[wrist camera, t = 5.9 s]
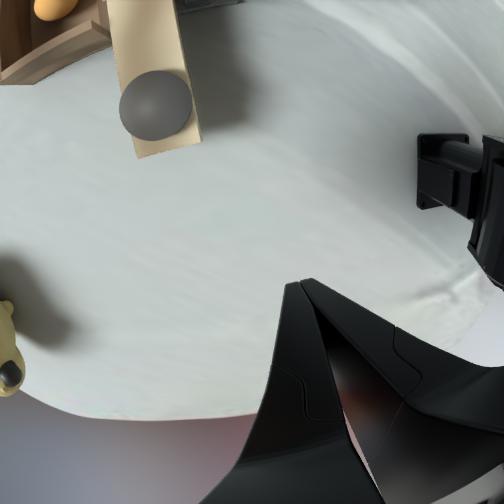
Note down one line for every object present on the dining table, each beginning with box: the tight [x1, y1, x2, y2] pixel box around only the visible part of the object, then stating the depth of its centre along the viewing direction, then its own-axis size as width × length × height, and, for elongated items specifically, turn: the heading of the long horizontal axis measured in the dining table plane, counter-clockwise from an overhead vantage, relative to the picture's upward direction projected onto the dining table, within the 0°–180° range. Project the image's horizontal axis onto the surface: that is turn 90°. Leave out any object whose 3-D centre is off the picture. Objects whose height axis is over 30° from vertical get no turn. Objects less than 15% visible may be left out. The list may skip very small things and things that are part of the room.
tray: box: [0, 0, 112, 85], centre depth 8 cm, size 7×10×4 cm
